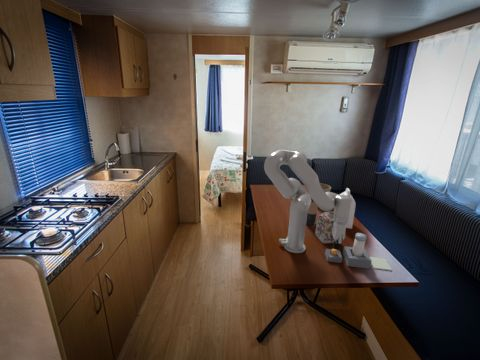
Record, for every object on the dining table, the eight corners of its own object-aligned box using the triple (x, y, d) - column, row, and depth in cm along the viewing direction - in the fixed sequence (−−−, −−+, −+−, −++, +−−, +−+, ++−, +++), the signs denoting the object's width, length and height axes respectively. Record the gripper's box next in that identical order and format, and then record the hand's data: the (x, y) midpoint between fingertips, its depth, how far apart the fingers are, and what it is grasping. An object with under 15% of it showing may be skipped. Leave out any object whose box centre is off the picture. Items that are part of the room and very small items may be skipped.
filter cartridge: (351, 263, 142) (357, 237, 137) (349, 257, 147) (354, 232, 142) (362, 264, 141) (368, 238, 136) (359, 258, 146) (364, 233, 141)
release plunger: (331, 256, 144) (332, 251, 143) (330, 253, 147) (331, 248, 145) (336, 257, 143) (337, 252, 142) (335, 254, 146) (336, 249, 145)
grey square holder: (347, 265, 139) (348, 257, 138) (342, 253, 150) (344, 246, 148) (369, 268, 138) (371, 260, 136) (363, 256, 148) (365, 248, 147)
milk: (352, 228, 179) (359, 193, 171) (334, 226, 181) (340, 191, 173) (348, 220, 190) (355, 187, 182) (332, 218, 192) (338, 185, 184)
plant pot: (330, 208, 210) (333, 189, 205) (312, 207, 210) (314, 188, 205) (325, 200, 225) (327, 183, 219) (307, 200, 225) (310, 182, 220)
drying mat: (373, 268, 138) (374, 267, 138) (367, 257, 148) (368, 256, 147) (391, 270, 137) (392, 269, 137) (384, 259, 146) (385, 258, 146)
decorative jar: (340, 243, 161) (345, 216, 155) (322, 244, 159) (327, 217, 153) (330, 233, 172) (335, 208, 166) (314, 234, 170) (318, 209, 164)
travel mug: (317, 225, 182) (321, 198, 175) (307, 226, 180) (311, 199, 173) (311, 220, 189) (315, 194, 182) (302, 221, 187) (305, 195, 180)
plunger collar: (327, 261, 142) (328, 256, 141) (325, 253, 150) (325, 248, 149) (341, 263, 141) (342, 258, 140) (338, 254, 149) (339, 250, 148)
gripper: (331, 211, 145) (327, 240, 151) (336, 224, 131) (331, 255, 137) (345, 212, 144) (340, 242, 150) (351, 225, 130) (346, 257, 136)
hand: (336, 248), depth 143 cm, fingers closed
